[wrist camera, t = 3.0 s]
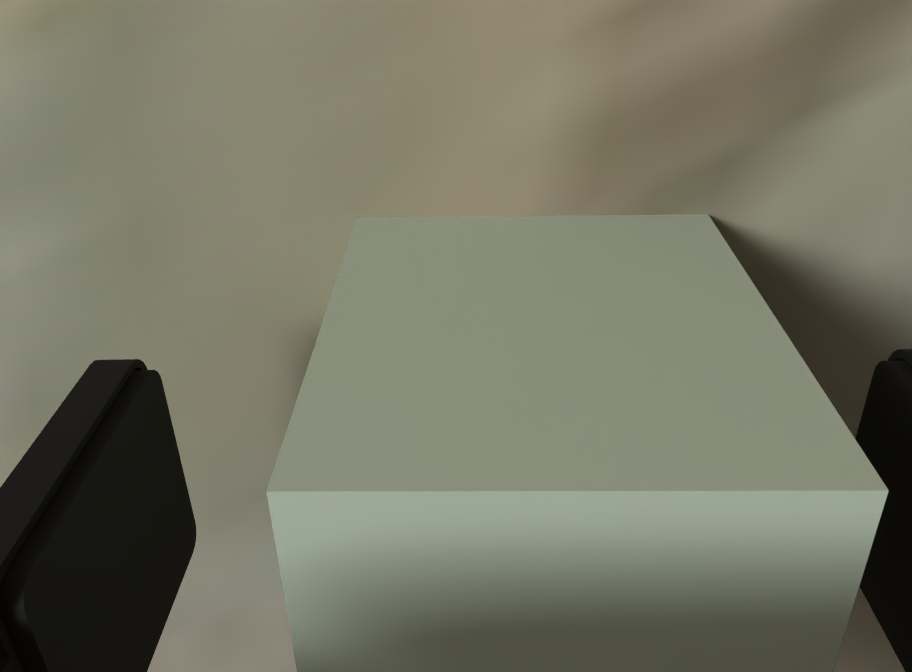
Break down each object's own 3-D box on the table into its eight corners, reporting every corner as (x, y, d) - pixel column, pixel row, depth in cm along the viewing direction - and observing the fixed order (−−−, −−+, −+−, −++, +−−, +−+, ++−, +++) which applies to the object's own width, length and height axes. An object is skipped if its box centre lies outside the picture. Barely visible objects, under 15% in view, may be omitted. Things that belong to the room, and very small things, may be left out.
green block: (707, 213, 12) (888, 490, 7) (669, 486, 14) (779, 844, 9) (357, 217, 12) (266, 490, 7) (380, 487, 14) (326, 839, 9)
